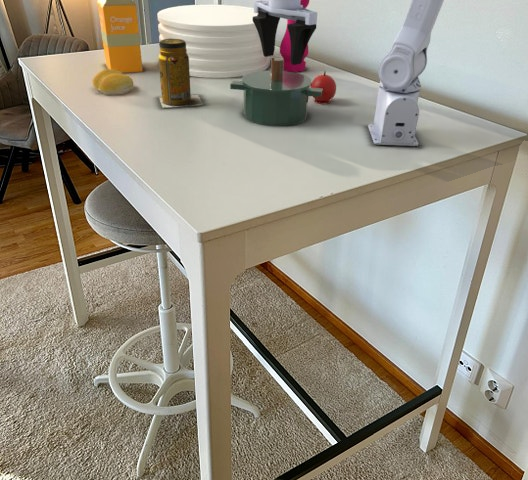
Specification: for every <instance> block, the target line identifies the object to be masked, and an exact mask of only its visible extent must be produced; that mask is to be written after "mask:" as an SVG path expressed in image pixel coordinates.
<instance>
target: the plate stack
mask: <svg viewBox="0 0 528 480" xmlns="http://www.w3.org/2000/svg"><path fill="white" fill-rule="evenodd" d="M257 14H258V13H254V7H250V6H243V5H232V4H188V5H177V6H172V7H168V8H164V9H161V10H159V11H158V12H157V22H158V24H157V27H158V33H159V36H158V40H159V42H160V41H161V40H164V39H181V40H184V41H185V42H186V49H187V52H186V53H187V55H188V57H189V73H190V77H195V78H208V79H212V78H213V79H224V78H225V79H227V78H240V77H241V78H242V77H243V76H245V75H247V74H249V73H253V72H258V71H267V69H269V67H271V58H270V56H268V57H265V56H264V55H263V50H262V45H261V41H260V37H259V34H258V31H257V29H256V26H255V24H254V23H253V17H254V16H257Z"/></svg>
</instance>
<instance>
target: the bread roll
mask: <svg viewBox="0 0 528 480" xmlns="http://www.w3.org/2000/svg"><path fill="white" fill-rule="evenodd" d="M92 85H93V87H94V89H95V90H96V91H98V92H100V93H101V94H104V95H108V96H110V95H113V96H114V95H116V96H117V95H124V94H127V93H129V92H131V91H132V90H133V89H134V80H133V79H132V77H131V76H129V75H128V74H124V73H121V72H119V71H117V70H114V69H108V68H105V69H102V70H100V71H99V72H97V73H96V74H95V75H94V77H93V78H92Z"/></svg>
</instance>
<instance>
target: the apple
mask: <svg viewBox="0 0 528 480" xmlns="http://www.w3.org/2000/svg"><path fill="white" fill-rule="evenodd" d="M326 73H327V71H326V70H324V71H323V74H319V75H318V76H316V77H314V79H313V80H311V81H312V84H311V86H310V88H322V89H323V93H322V96H321V97H314V96H312V98H313V99H314V100H313V101H314V103H316V104H319V105H328V104H330V103H331V100H332V99H333V98H334V97H335V95H336V93H337V83H336V81H335V80H334V77H333V78H332V77H331V76H330V75H327V74H326Z"/></svg>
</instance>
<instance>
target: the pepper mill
mask: <svg viewBox="0 0 528 480" xmlns="http://www.w3.org/2000/svg"><path fill="white" fill-rule="evenodd" d="M309 4H310V0H301V2H300V5H303V8H306V9H307V7H308V6H309ZM288 16H289V15H288ZM286 22H287V23H286V25H287V24H292V23H296V21H293V20H289V19H286ZM279 55H280V56H281V58H282V59H284V67H283V71H288V72H294V73H301V72H303V71H305V70H306V64H307V61H305V59H306V57H308V55H309V43H308V44H307V47H306V49H305V52H304V56H303V59H302V62H301V64H297V65H292V64H291V42H290V35H289V31H288V27H287V26H286V29H285V33H284V35H283V37H282V39H281V42H280V45H279Z"/></svg>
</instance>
